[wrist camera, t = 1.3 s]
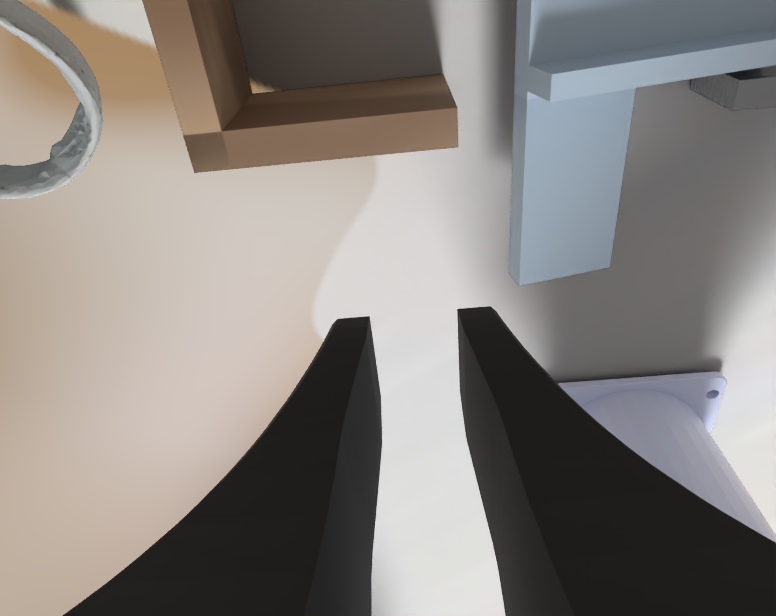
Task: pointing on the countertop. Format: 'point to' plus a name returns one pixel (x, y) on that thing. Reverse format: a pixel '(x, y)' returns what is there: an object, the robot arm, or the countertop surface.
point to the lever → (603, 109)
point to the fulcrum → (739, 88)
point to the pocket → (283, 101)
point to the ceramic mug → (87, 121)
